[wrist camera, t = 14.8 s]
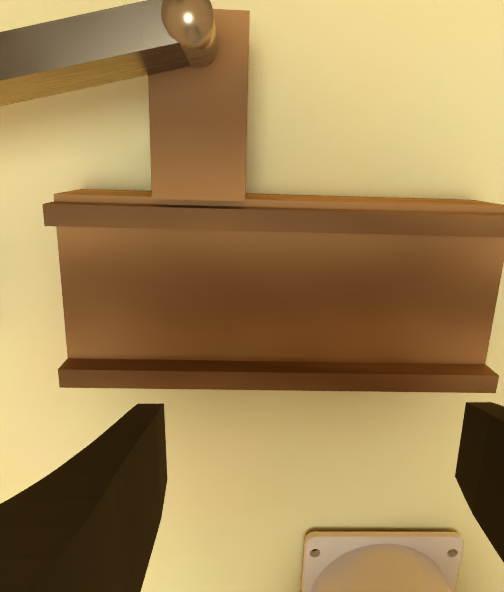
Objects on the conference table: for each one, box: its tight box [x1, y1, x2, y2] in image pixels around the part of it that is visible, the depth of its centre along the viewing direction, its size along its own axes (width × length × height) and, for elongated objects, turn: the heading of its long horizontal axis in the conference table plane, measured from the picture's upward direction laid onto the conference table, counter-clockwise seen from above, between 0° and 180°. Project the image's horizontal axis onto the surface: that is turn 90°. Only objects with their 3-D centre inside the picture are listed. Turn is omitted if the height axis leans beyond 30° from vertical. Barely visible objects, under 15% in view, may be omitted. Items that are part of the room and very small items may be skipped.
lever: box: [0, 0, 218, 106], centre depth 12 cm, size 11×1×3 cm, turn 101°
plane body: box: [43, 9, 504, 393], centre depth 17 cm, size 12×16×4 cm
